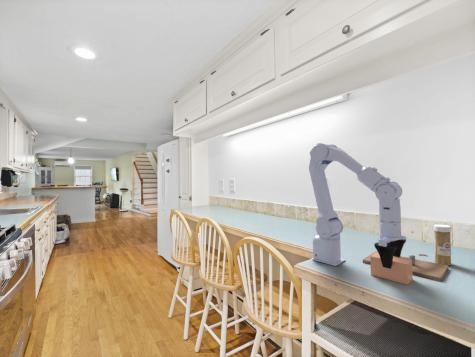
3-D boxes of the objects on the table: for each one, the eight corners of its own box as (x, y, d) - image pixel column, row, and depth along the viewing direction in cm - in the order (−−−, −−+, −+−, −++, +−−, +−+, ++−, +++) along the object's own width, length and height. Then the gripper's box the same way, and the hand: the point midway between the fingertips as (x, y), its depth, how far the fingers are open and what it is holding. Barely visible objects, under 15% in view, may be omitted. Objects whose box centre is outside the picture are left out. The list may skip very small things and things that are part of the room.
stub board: (362, 262, 87) (362, 251, 87) (375, 253, 96) (375, 243, 96) (440, 281, 71) (440, 267, 71) (448, 268, 79) (448, 256, 79)
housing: (370, 274, 77) (370, 256, 77) (376, 270, 80) (376, 252, 80) (407, 284, 69) (407, 264, 69) (412, 279, 73) (412, 259, 72)
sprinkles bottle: (444, 266, 81) (443, 227, 81) (431, 261, 85) (430, 224, 85) (455, 265, 82) (454, 226, 82) (441, 260, 86) (440, 223, 86)
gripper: (397, 226, 67) (398, 274, 67) (411, 218, 76) (412, 261, 76) (370, 223, 72) (371, 268, 72) (386, 216, 81) (387, 256, 82)
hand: (391, 264), depth 75 cm, fingers open, 7 cm apart
